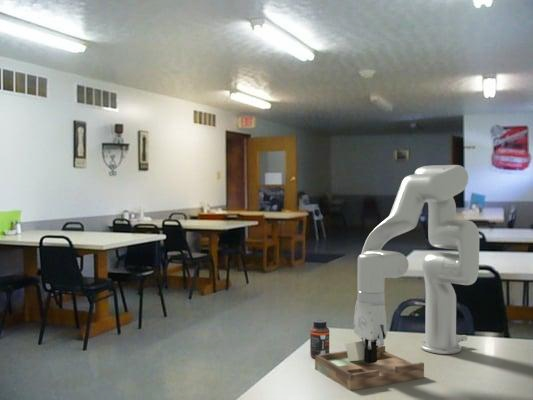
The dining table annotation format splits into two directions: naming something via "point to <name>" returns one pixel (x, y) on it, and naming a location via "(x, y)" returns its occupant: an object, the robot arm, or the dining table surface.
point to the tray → (367, 369)
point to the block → (355, 351)
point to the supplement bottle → (319, 338)
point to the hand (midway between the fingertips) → (370, 362)
